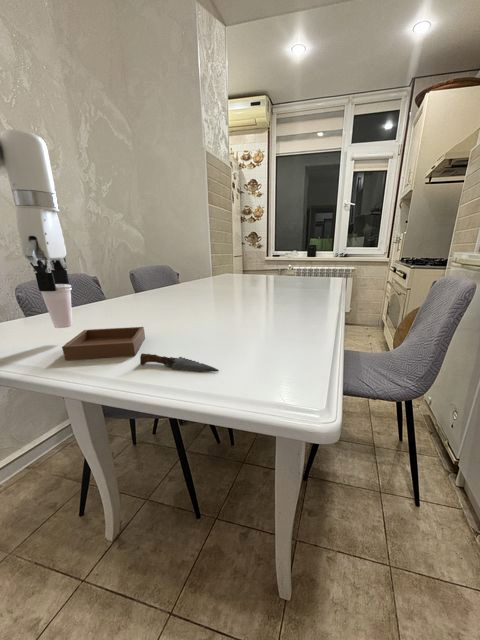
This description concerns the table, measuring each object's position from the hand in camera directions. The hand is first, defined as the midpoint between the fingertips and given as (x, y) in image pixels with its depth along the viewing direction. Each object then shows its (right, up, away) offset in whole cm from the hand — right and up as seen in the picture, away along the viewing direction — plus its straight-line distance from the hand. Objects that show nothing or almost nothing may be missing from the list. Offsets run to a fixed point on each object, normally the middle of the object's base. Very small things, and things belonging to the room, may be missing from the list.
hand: (55, 288), depth 67 cm
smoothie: (0, -9, +3) cm, 9 cm away
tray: (+13, -14, -1) cm, 19 cm away
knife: (+32, -18, -10) cm, 38 cm away
